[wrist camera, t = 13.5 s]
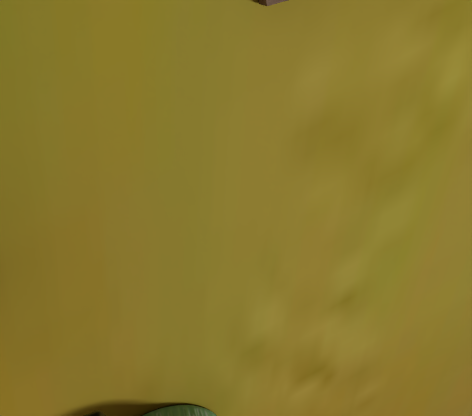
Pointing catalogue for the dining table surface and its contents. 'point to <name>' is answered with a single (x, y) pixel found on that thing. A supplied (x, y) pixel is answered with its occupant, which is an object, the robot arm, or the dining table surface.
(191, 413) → the ramekin
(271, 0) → the board
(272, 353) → the dining table surface
